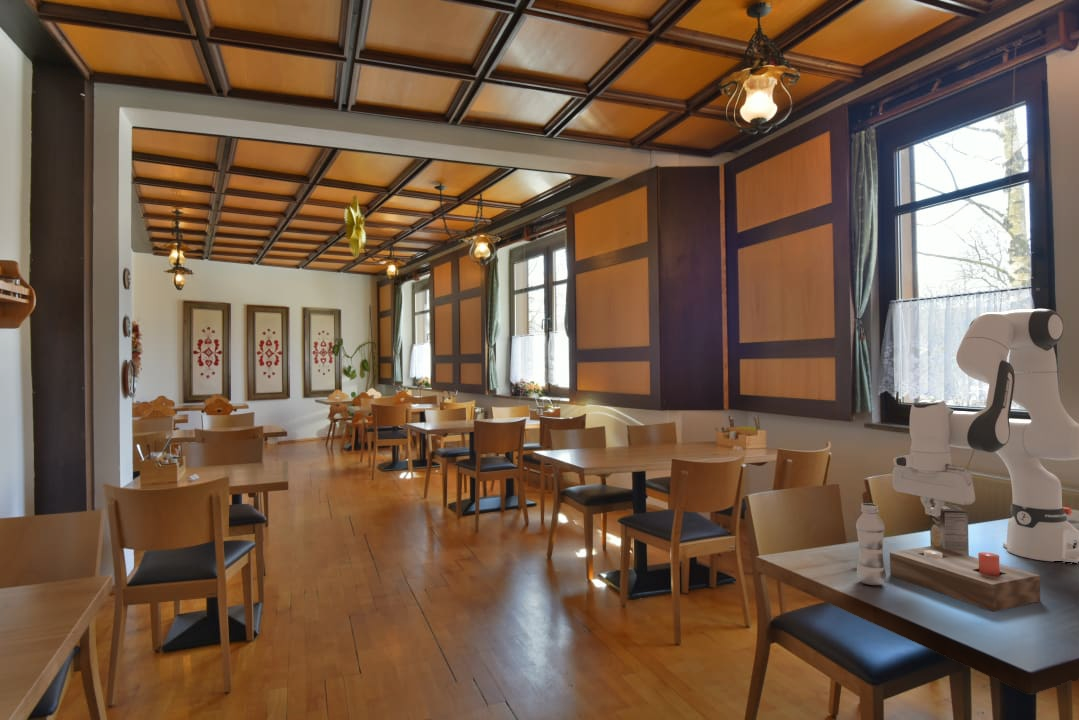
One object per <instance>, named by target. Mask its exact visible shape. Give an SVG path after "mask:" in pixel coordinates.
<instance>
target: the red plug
mask: <svg viewBox="0 0 1079 720" xmlns="http://www.w3.org/2000/svg"><path fill="white" fill-rule="evenodd" d="M977 556H978V557H977V558H978V559H979V572H980V573H983V574H987V575H990V576H998V575H1000V564H1001V563H1000V555H998V554H996V553H992V552H984V551H983V552H982V551H981V552H978V554H977Z"/></svg>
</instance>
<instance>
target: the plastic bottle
mask: <svg viewBox="0 0 1079 720" xmlns="http://www.w3.org/2000/svg"><path fill="white" fill-rule="evenodd" d="M878 507H879V506H878V504H876V503H871V502H870V503H867V502H866V503H861V509H860V510H861V515H860V516H859V517H858V519H857V520H856V523H855V526H856V527H855V528H856V533H857V540H858V562H857V565H856V576H857V579H858V581H859V582H861V583H862V584H864V585H870V586H881V585H884V583H885V581H886V578H887V574H886V573H887V572H886V568H885V566H884V565H885V564H884V563H885V561H884V555H883V554H884V553H883V550H884V549H883V547H884V546H883V545H884V537H885V528H886V527H885V524H884V522H883V520H882V518H880V516H879V515H878V514H879V508H878Z"/></svg>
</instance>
